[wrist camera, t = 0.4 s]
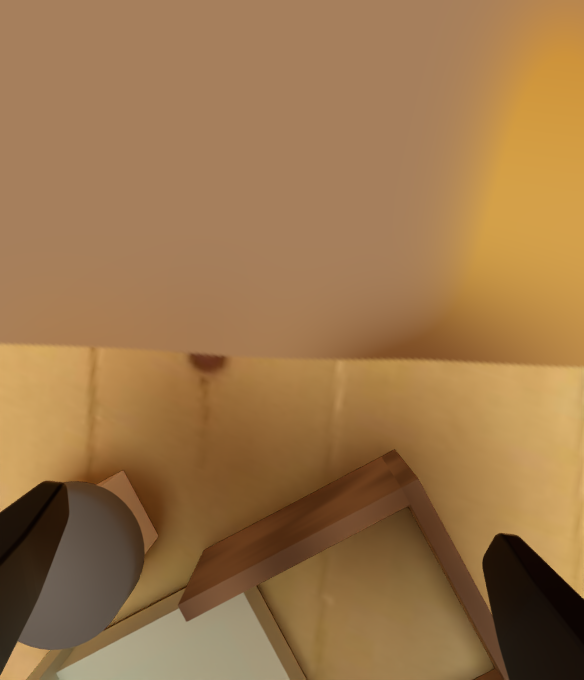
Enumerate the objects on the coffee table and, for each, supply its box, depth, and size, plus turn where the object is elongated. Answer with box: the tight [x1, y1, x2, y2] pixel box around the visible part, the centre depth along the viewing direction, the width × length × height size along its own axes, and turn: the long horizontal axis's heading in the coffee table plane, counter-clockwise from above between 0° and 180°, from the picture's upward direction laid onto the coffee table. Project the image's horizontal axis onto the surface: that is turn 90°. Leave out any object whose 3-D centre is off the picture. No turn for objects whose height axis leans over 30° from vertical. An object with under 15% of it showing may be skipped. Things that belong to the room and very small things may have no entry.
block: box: [96, 471, 158, 554], centre depth 23 cm, size 4×4×4 cm
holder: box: [178, 450, 509, 680], centre depth 22 cm, size 12×13×5 cm
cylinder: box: [18, 481, 145, 650], centre depth 20 cm, size 6×6×2 cm
